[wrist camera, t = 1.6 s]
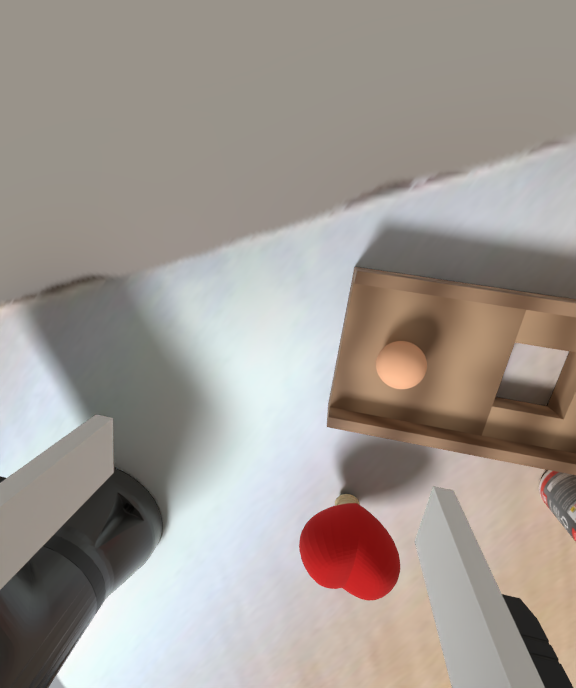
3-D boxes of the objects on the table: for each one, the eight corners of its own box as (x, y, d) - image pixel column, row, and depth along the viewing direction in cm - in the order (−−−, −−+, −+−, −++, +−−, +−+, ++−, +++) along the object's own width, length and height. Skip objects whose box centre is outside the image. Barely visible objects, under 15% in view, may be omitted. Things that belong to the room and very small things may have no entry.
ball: (369, 374, 31) (373, 392, 27) (379, 331, 30) (384, 345, 26) (414, 381, 31) (425, 401, 27) (425, 339, 29) (438, 354, 26)
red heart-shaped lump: (398, 485, 37) (419, 570, 27) (378, 534, 39) (390, 629, 30) (314, 461, 37) (306, 536, 28) (299, 510, 40) (286, 595, 30)
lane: (328, 404, 35) (326, 426, 31) (354, 266, 31) (357, 270, 27) (575, 450, 33) (610, 482, 29) (640, 309, 29) (693, 321, 24)
